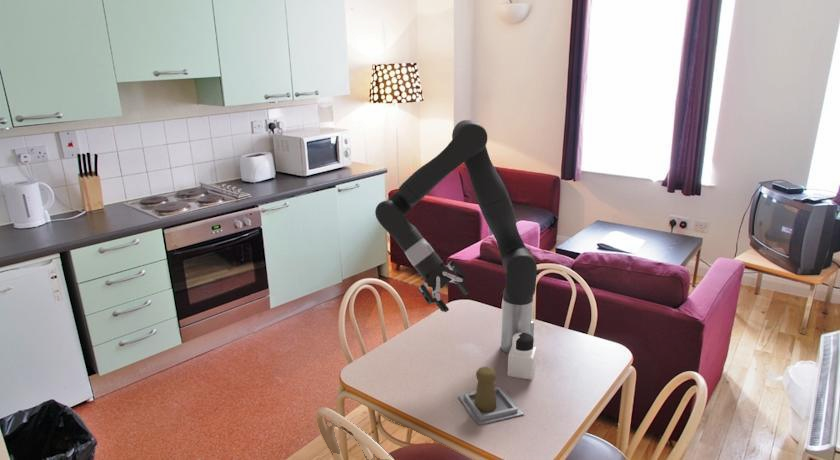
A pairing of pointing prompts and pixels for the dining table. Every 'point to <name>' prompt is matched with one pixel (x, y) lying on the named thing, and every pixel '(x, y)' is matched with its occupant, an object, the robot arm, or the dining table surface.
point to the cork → (485, 390)
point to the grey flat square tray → (502, 411)
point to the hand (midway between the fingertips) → (457, 302)
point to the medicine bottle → (522, 356)
